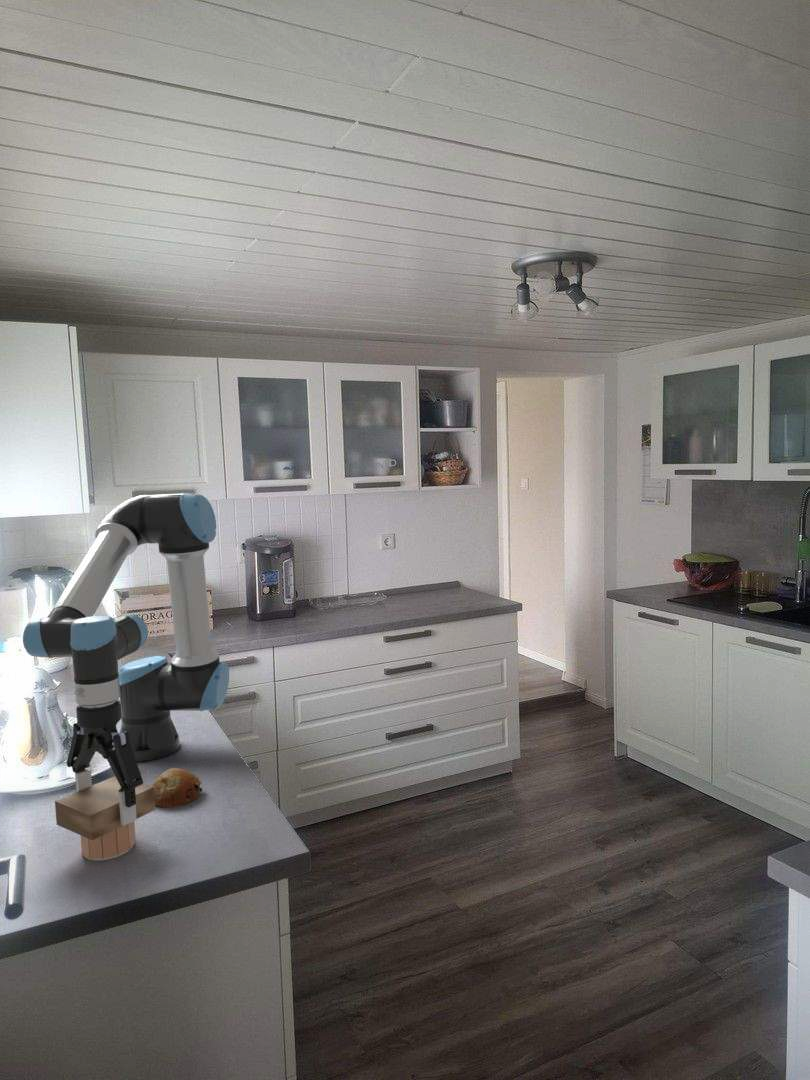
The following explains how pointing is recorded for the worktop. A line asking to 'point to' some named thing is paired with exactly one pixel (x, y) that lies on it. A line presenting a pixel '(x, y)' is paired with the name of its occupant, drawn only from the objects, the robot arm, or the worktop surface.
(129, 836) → the wooden tub
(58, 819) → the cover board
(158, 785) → the bread roll
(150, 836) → the worktop surface
